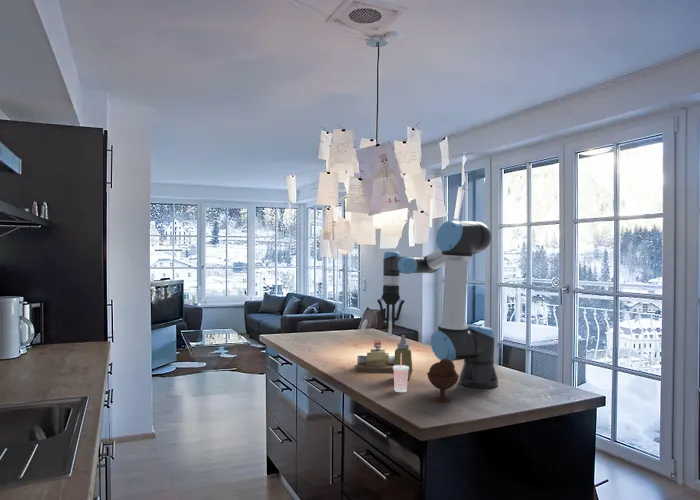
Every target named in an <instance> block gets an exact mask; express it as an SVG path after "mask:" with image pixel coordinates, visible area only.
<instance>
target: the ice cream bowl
mask: <svg viewBox="0 0 700 500" xmlns="http://www.w3.org/2000/svg"><path fill="white" fill-rule="evenodd" d="M455 368H456V367H455V364H454V361H451V360H449V359H442V360H440V361H439V362H438V361H437V362H434V363H433V364H432V365H431V366H430V368H429V371H428V372H426V374H427V377H428V381H429V382H430V383H431V384H432V386H433V387H435V388H436V389H438V390H439V391H440V393H439V396H437V397H436V398H434V402H436V403H438V404H439V403H441V404H449V403H451V399H450V398H449V397H448V396H446V390H448V389H451V388H453V387H454V386H455V385H456V384H457V383H458V382H459V376H460V374H458V373H457V371H456V370H455Z"/></svg>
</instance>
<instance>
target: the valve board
mask: <svg viewBox="0 0 700 500" xmlns="http://www.w3.org/2000/svg"><path fill="white" fill-rule="evenodd" d="M394 356H395V355H394ZM394 356H392V355H391V356H390V355H389V352H386V350H385V349H381V348H380V351H376V348H375V349H373V348H371V349H370V352H366V355H357V362H356V363H357V366H356V372H357V373H389V374H391V373H392V374H394V371H393V365H394Z"/></svg>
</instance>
